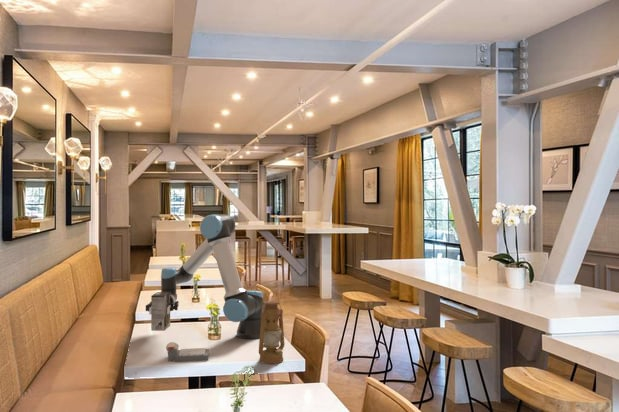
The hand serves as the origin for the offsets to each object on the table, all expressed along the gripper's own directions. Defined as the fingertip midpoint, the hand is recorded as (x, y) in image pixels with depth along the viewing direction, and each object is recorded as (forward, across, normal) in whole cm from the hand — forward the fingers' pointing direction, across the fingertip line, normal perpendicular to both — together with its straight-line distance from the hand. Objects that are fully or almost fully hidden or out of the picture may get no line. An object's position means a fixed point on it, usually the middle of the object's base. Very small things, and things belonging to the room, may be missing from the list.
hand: (159, 311), depth 229 cm
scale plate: (+9, -16, -17) cm, 25 cm away
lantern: (+18, -50, -19) cm, 56 cm away
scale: (+9, -14, -19) cm, 25 cm away
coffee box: (-5, 0, -9) cm, 10 cm away
